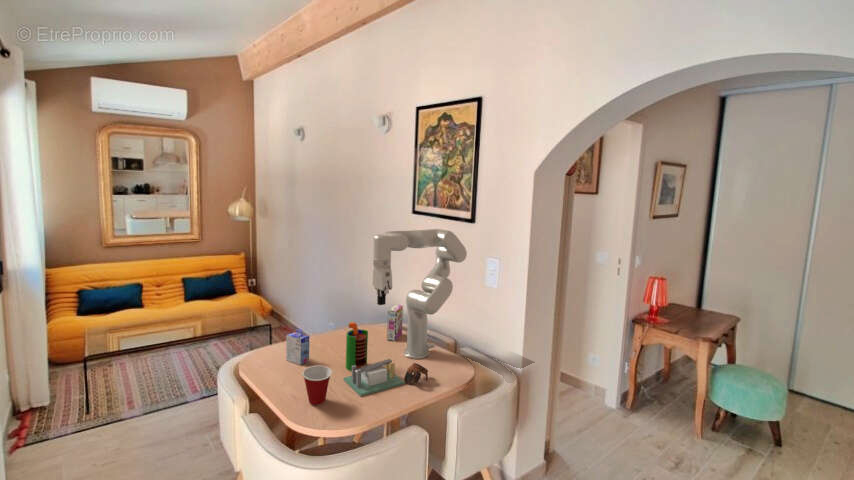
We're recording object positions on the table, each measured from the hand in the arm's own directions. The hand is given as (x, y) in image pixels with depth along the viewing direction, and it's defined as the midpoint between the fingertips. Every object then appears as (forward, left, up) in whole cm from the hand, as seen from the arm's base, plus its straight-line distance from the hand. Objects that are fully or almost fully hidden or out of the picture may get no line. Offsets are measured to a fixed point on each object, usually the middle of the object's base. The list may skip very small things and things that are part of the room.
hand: (381, 304), depth 187 cm
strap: (+9, +11, -23) cm, 27 cm away
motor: (+9, -6, -29) cm, 31 cm away
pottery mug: (-6, +20, -29) cm, 36 cm away
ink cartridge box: (+29, -25, -29) cm, 48 cm away
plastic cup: (+34, +14, -29) cm, 47 cm away
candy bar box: (-24, -28, -29) cm, 47 cm away
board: (+9, +11, -29) cm, 32 cm away
